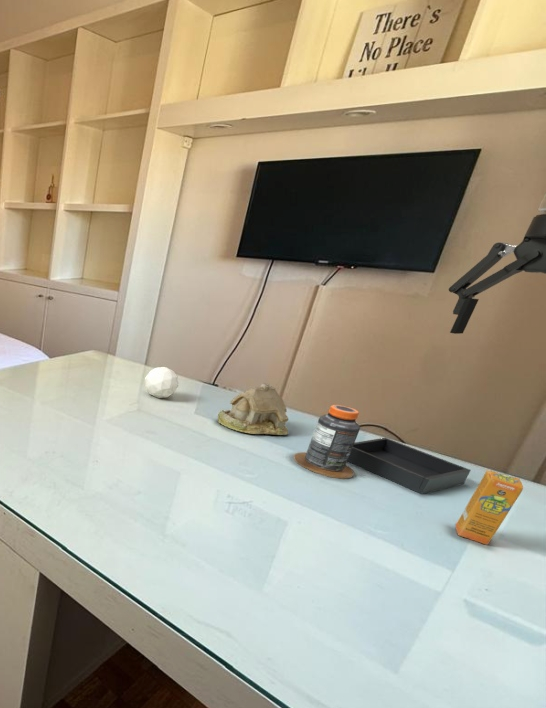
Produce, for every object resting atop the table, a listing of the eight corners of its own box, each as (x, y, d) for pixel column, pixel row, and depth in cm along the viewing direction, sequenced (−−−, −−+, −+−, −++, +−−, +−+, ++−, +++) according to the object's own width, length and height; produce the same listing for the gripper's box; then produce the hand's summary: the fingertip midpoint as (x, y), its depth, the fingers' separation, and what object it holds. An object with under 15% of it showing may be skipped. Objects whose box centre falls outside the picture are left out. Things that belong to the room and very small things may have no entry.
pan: (463, 484, 82) (471, 469, 81) (421, 494, 77) (428, 479, 76) (379, 450, 93) (385, 437, 92) (338, 457, 89) (344, 444, 88)
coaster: (364, 475, 82) (365, 473, 82) (332, 481, 79) (333, 479, 79) (313, 452, 90) (314, 450, 90) (282, 457, 87) (283, 455, 87)
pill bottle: (340, 462, 86) (363, 407, 82) (345, 475, 81) (370, 417, 77) (302, 453, 88) (323, 399, 85) (305, 465, 84) (326, 408, 80)
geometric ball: (146, 404, 117) (135, 375, 118) (176, 394, 117) (164, 366, 118) (157, 400, 109) (145, 369, 111) (189, 389, 109) (176, 359, 111)
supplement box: (456, 535, 66) (489, 476, 63) (454, 526, 69) (485, 468, 65) (489, 547, 64) (525, 486, 61) (486, 536, 67) (520, 477, 63)
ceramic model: (252, 414, 108) (265, 374, 104) (298, 435, 98) (314, 391, 94) (207, 418, 103) (219, 376, 100) (250, 440, 93) (265, 395, 90)
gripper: (457, 211, 82) (408, 326, 90) (699, 213, 61) (608, 364, 68) (479, 214, 85) (430, 326, 93) (718, 217, 63) (629, 362, 71)
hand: (505, 342), depth 80 cm, fingers open, 13 cm apart
